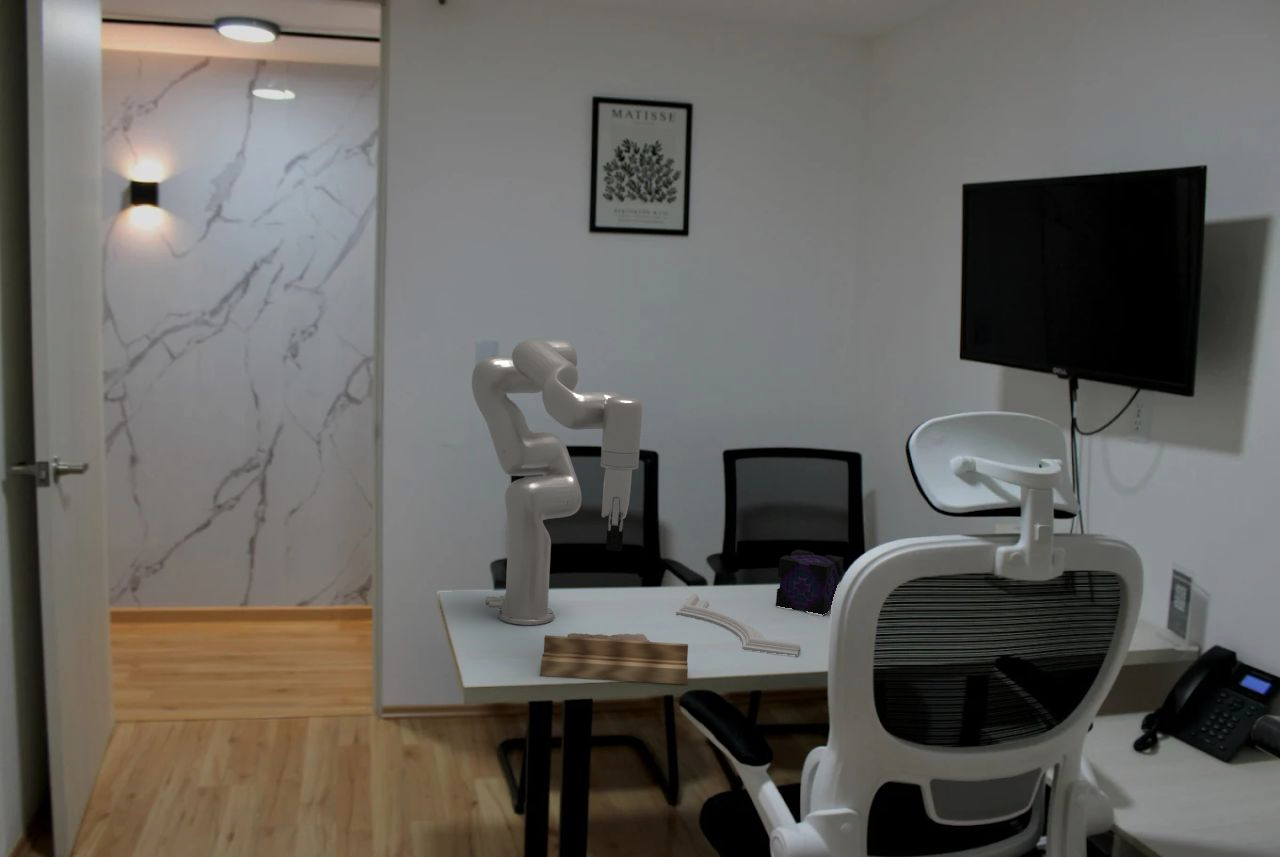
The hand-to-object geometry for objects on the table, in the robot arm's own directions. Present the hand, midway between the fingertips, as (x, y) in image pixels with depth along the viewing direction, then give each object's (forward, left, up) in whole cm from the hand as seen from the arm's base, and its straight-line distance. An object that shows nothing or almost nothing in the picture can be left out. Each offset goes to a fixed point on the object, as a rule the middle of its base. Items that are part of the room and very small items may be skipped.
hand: (614, 549), depth 223 cm
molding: (+28, +25, -23) cm, 44 cm away
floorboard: (+2, -8, -22) cm, 24 cm away
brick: (0, -1, -23) cm, 23 cm away
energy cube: (+47, +46, -23) cm, 69 cm away
